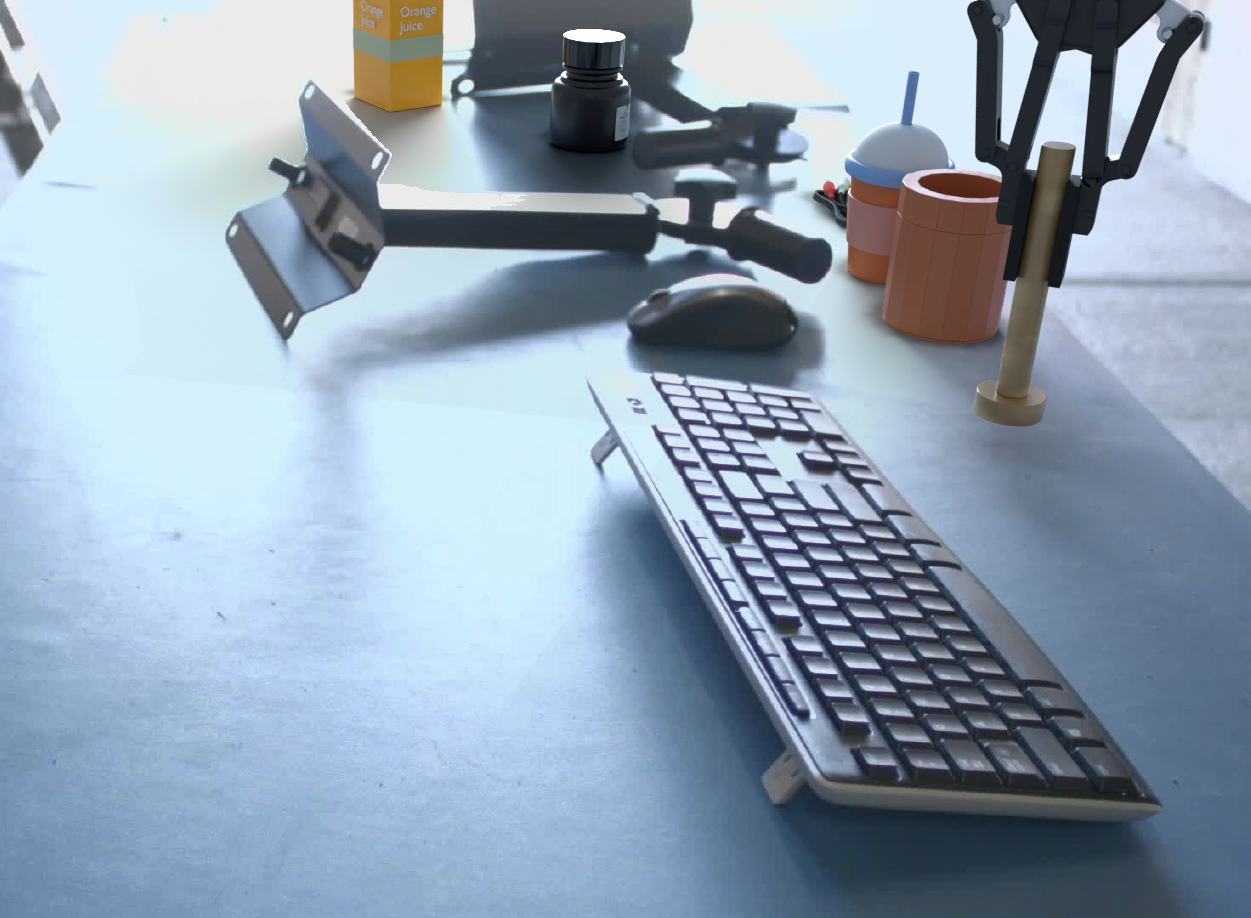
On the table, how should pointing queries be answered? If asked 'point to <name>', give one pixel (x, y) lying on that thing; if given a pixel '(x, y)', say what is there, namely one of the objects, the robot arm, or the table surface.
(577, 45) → the ink bottle
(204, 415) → the table surface
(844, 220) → the composite cable
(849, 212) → the cup with straw
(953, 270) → the jar
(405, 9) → the orange juice
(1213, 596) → the table surface
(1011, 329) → the brass-colored tamper
